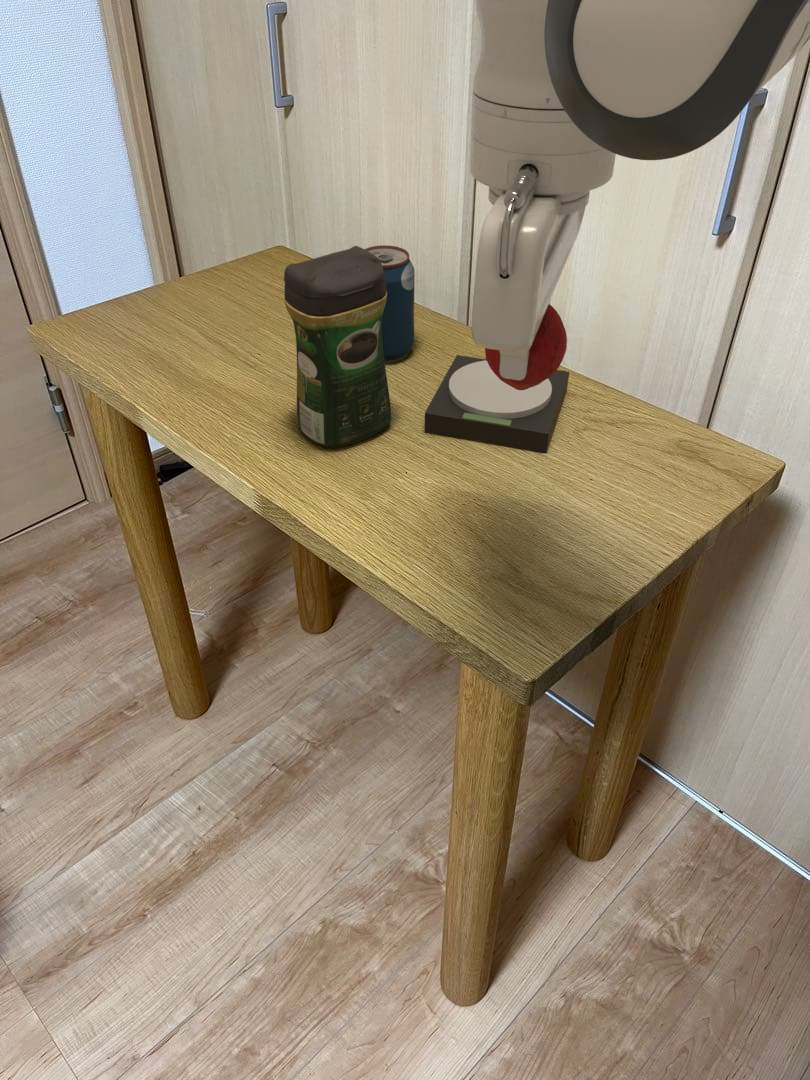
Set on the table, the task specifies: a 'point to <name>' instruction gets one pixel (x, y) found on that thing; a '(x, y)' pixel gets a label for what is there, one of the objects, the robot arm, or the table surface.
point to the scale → (495, 407)
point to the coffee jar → (339, 346)
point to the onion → (538, 352)
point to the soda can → (397, 301)
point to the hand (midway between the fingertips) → (524, 349)
